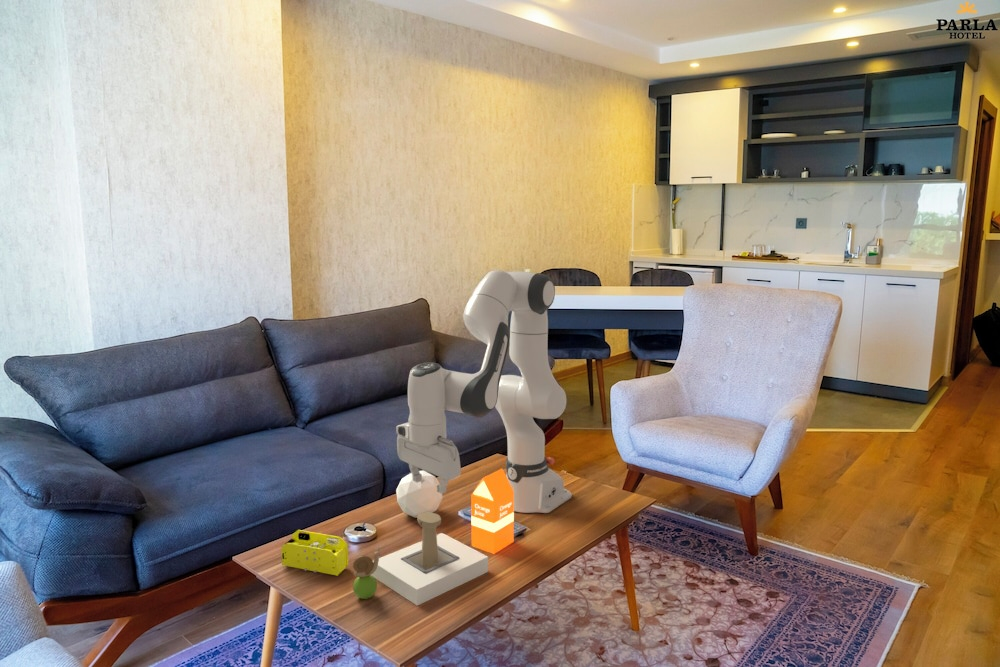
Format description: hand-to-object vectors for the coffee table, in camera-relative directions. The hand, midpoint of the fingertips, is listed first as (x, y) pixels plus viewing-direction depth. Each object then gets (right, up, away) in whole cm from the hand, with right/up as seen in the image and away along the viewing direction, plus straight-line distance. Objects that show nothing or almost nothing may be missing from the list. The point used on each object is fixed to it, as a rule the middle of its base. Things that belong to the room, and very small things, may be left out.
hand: (429, 486), depth 174 cm
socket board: (0, -22, +4) cm, 23 cm away
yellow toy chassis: (-29, -22, +7) cm, 37 cm away
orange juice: (+15, -20, +20) cm, 32 cm away
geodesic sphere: (-6, -16, +38) cm, 42 cm away
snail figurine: (-14, -25, -6) cm, 29 cm away
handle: (0, -23, +4) cm, 23 cm away
